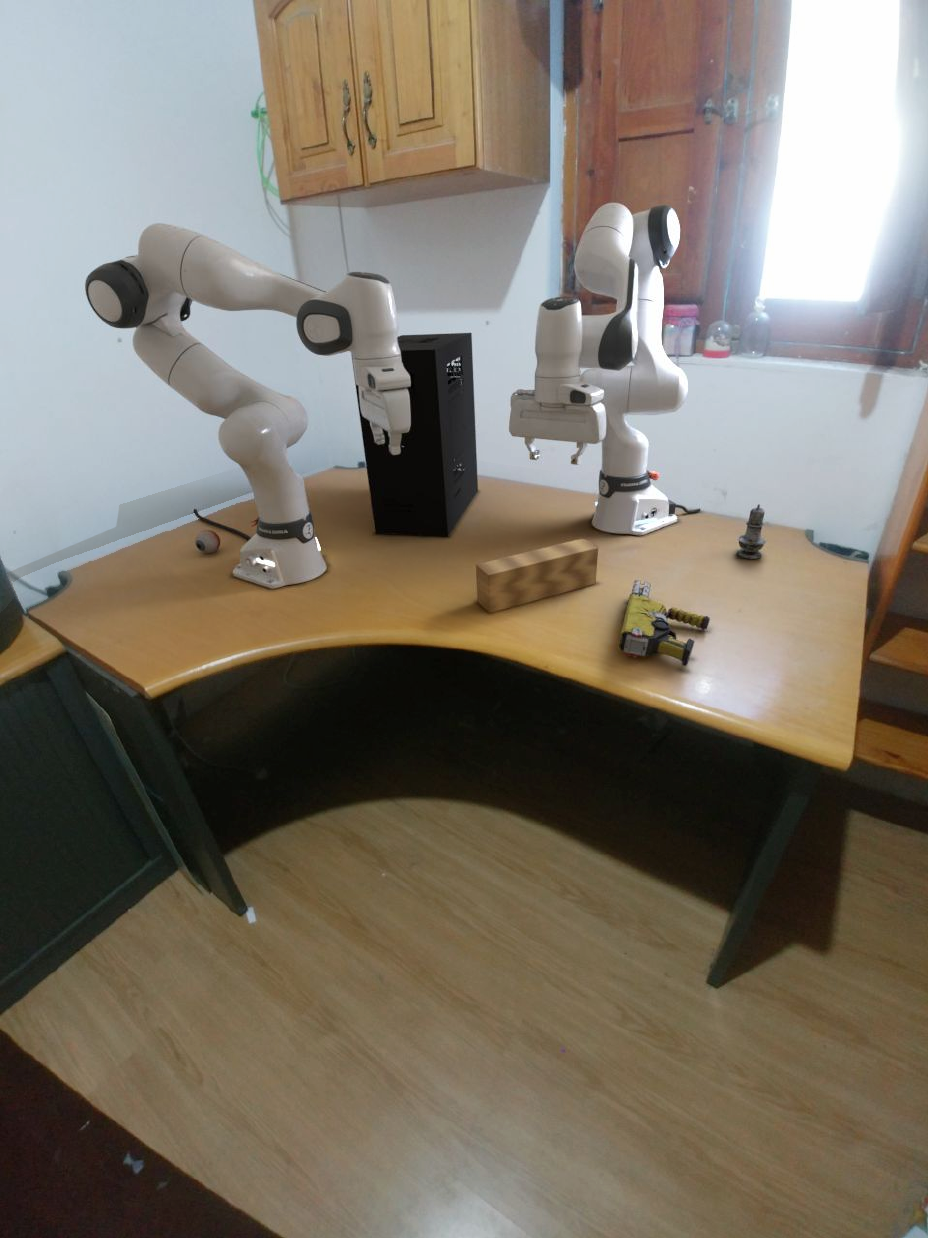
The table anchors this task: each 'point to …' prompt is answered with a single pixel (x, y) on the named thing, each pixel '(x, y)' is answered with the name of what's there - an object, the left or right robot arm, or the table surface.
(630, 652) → the toy gun
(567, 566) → the bar
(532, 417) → the right robot arm
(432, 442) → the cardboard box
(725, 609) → the table surface
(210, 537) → the eyeball
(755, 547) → the salt shaker
